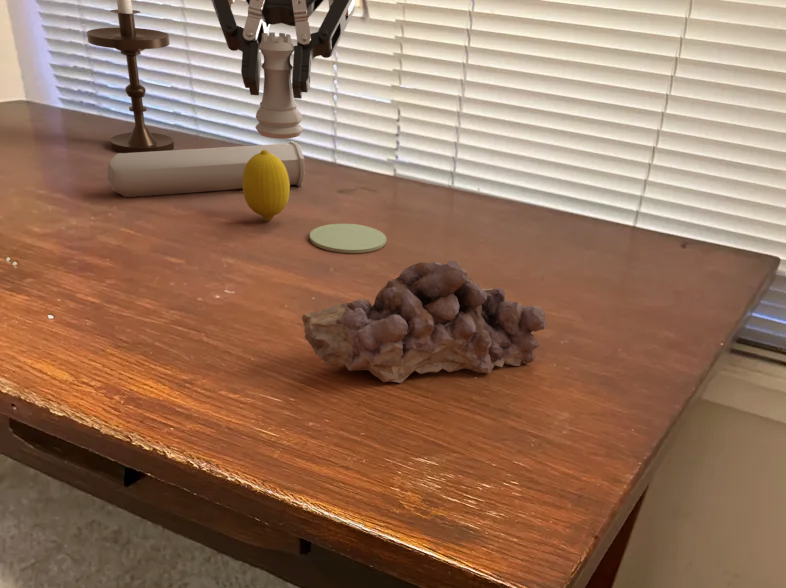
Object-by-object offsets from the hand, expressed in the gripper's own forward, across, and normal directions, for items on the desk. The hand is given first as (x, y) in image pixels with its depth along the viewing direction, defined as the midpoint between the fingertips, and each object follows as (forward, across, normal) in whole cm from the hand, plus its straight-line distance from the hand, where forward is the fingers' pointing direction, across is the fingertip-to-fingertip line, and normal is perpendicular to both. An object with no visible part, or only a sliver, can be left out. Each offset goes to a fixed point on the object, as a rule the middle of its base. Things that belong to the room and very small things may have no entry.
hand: (275, 90), depth 73 cm
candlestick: (-22, -27, +48) cm, 59 cm away
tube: (-9, -13, +34) cm, 38 cm away
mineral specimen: (+24, +14, +1) cm, 28 cm away
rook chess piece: (+2, 0, +4) cm, 5 cm away
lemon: (-1, -4, +27) cm, 27 cm away
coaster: (+2, +6, +23) cm, 24 cm away
